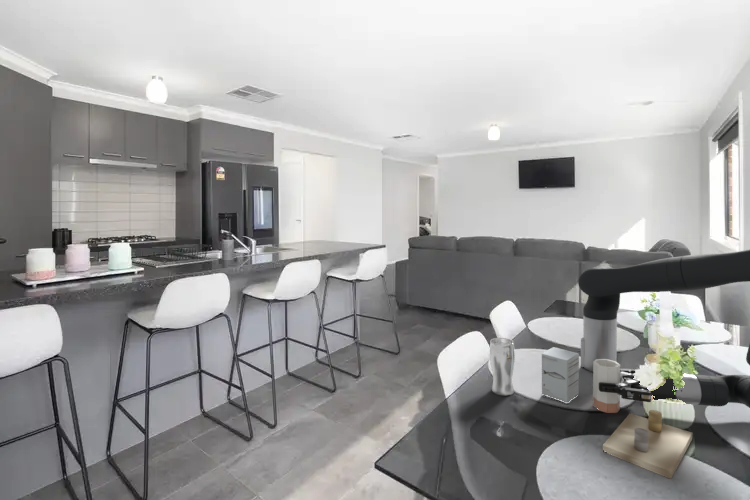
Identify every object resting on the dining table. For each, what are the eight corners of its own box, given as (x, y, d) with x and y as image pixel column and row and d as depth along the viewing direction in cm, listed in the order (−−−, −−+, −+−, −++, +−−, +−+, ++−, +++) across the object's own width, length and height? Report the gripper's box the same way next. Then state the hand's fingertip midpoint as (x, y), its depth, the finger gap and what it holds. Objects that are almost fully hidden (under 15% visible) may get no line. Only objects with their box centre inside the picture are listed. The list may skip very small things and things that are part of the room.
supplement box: (540, 396, 108) (540, 353, 107) (553, 387, 113) (553, 345, 111) (567, 405, 102) (567, 360, 101) (579, 396, 107) (579, 352, 106)
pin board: (602, 451, 83) (602, 427, 83) (630, 418, 95) (630, 397, 94) (671, 479, 74) (671, 452, 73) (692, 439, 86) (692, 415, 85)
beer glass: (517, 397, 108) (516, 345, 107) (491, 396, 110) (490, 345, 108) (513, 385, 115) (512, 337, 113) (489, 385, 116) (488, 337, 115)
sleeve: (590, 407, 101) (590, 363, 100) (598, 399, 104) (598, 357, 103) (614, 415, 97) (614, 369, 95) (622, 407, 100) (622, 362, 99)
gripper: (662, 361, 101) (590, 356, 107) (685, 385, 88) (602, 378, 93) (661, 388, 102) (590, 382, 108) (684, 416, 89) (602, 408, 94)
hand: (596, 380), depth 101 cm, fingers open, 6 cm apart
